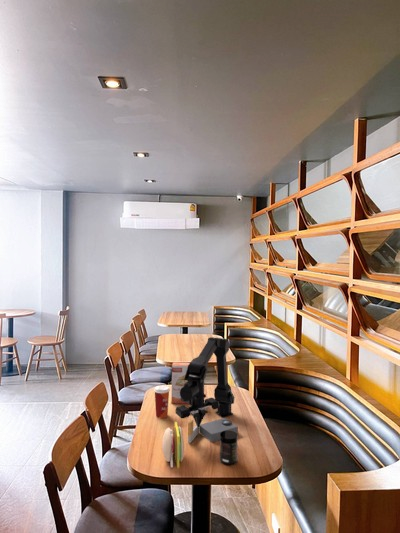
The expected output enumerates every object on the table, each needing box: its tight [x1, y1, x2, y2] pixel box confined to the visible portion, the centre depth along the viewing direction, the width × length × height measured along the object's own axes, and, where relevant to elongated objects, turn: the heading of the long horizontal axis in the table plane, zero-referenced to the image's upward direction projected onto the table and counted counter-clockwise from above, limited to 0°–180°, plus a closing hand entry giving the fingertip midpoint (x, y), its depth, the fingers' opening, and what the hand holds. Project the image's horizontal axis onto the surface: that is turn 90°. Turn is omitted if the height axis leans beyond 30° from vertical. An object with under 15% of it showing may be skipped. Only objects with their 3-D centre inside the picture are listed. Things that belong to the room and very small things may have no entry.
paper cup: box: [153, 384, 171, 419], centre depth 181 cm, size 8×8×14 cm
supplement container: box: [219, 431, 239, 466], centre depth 142 cm, size 7×7×10 cm
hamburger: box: [161, 421, 185, 469], centre depth 143 cm, size 12×8×12 cm
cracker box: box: [171, 362, 195, 405], centre depth 198 cm, size 14×6×21 cm, turn 89°
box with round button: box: [198, 417, 239, 443], centre depth 164 cm, size 14×10×4 cm
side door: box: [187, 419, 200, 444], centre depth 159 cm, size 1×11×9 cm, turn 159°
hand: (197, 426), depth 157 cm, fingers closed
